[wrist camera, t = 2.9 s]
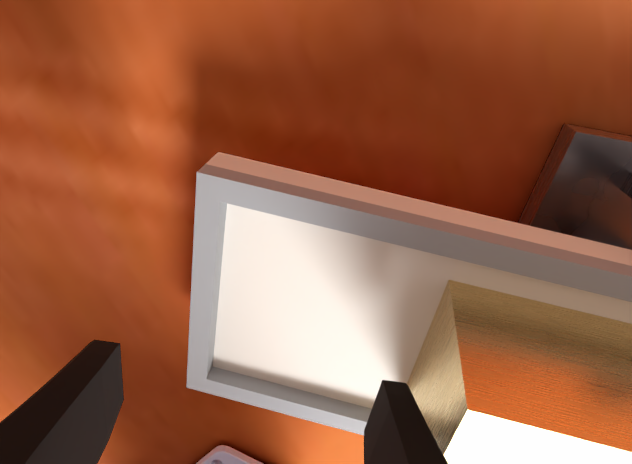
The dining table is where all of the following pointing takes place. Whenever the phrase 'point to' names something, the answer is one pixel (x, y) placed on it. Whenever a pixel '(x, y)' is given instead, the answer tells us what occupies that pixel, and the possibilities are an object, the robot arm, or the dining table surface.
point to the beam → (353, 284)
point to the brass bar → (524, 381)
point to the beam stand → (585, 187)
